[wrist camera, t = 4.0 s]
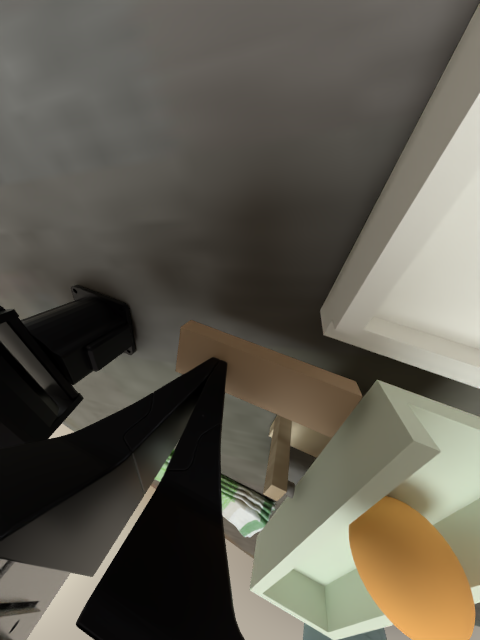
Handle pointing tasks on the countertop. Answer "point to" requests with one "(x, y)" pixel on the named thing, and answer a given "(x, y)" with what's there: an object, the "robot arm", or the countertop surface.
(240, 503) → the dish towel
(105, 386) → the countertop surface
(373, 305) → the bin
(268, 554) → the lever
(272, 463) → the lever stand
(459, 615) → the ball
